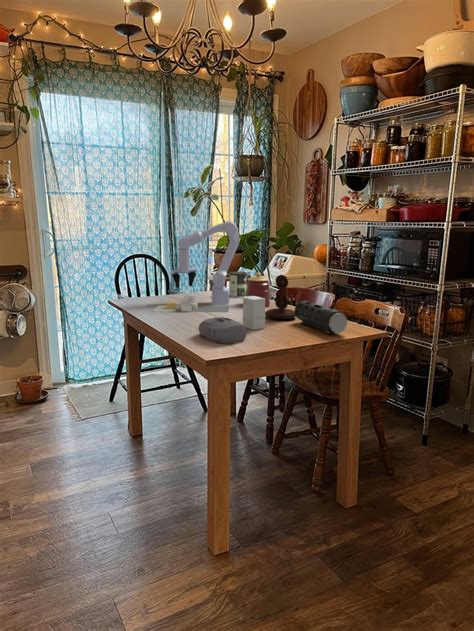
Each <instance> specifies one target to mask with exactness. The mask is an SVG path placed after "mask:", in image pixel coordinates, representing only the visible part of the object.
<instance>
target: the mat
mask: <svg viewBox="0 0 474 631" xmlns="http://www.w3.org/2000/svg"><path fill="white" fill-rule="evenodd" d="M165 305H166V304H158V305H157V306H156V307H155V308H154V309H153V310H152V312H168V313H171V312H176V313H177V312H179V313H180V312H181V313H182V312H184V313H186V312H185V311H181V309H167V306H165ZM229 309H230V306H229V305H197V310H192V312H191V313H229V311H230V310H229Z"/></svg>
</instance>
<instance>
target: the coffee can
mask: <svg viewBox="0 0 474 631" xmlns="http://www.w3.org/2000/svg"><path fill="white" fill-rule="evenodd" d="M247 282H248V273H247V272H246V271H230V272H229V298H233V299H243V297H246V289H247V285H246V283H247Z"/></svg>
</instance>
